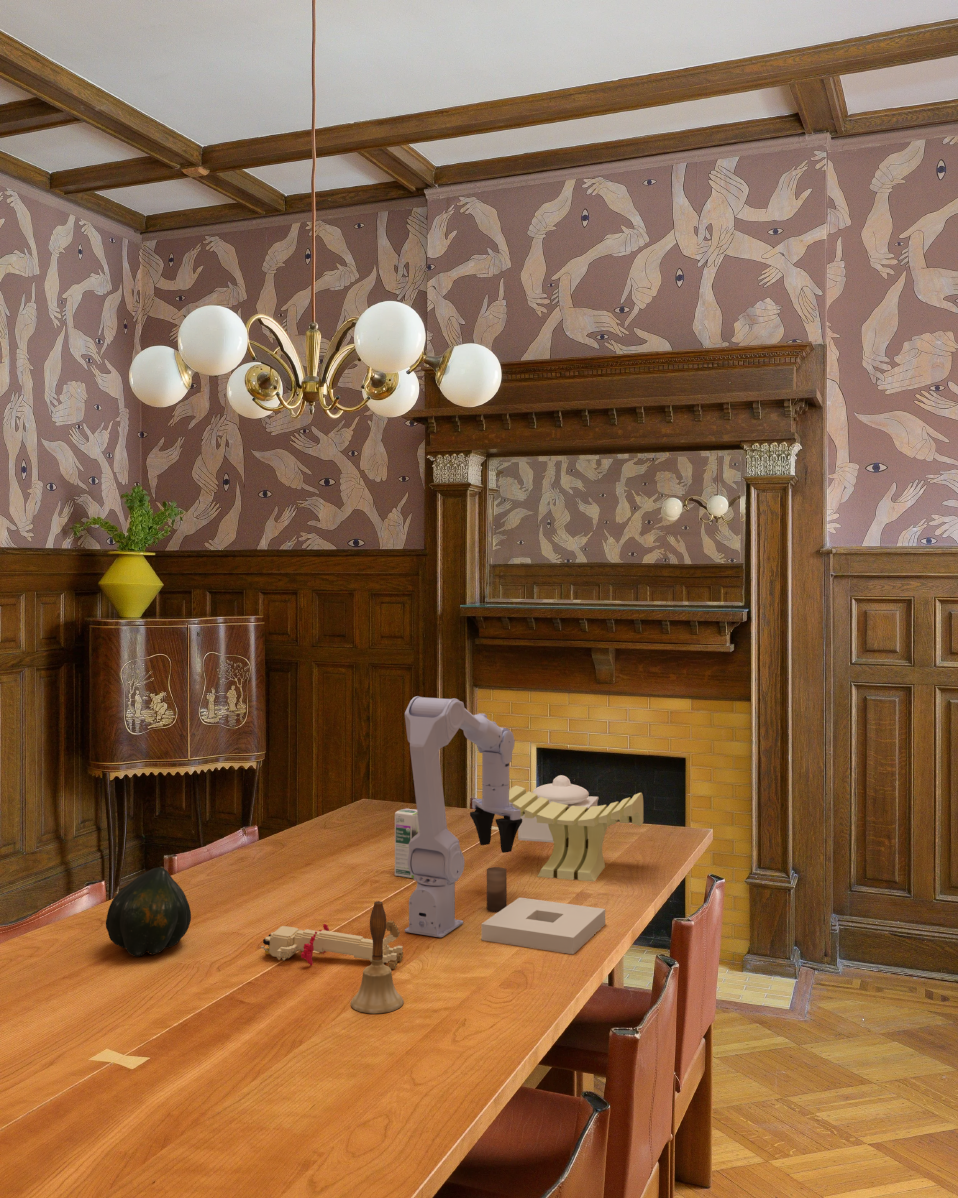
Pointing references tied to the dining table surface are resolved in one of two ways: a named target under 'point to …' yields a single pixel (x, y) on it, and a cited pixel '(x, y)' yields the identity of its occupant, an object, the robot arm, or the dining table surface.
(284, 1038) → the dining table surface
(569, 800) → the butter dish
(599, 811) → the slatted curved stool
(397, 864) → the syrup box
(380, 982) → the hand bell
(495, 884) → the peg
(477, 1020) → the dining table surface
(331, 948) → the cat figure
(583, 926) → the socket board
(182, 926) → the squash
